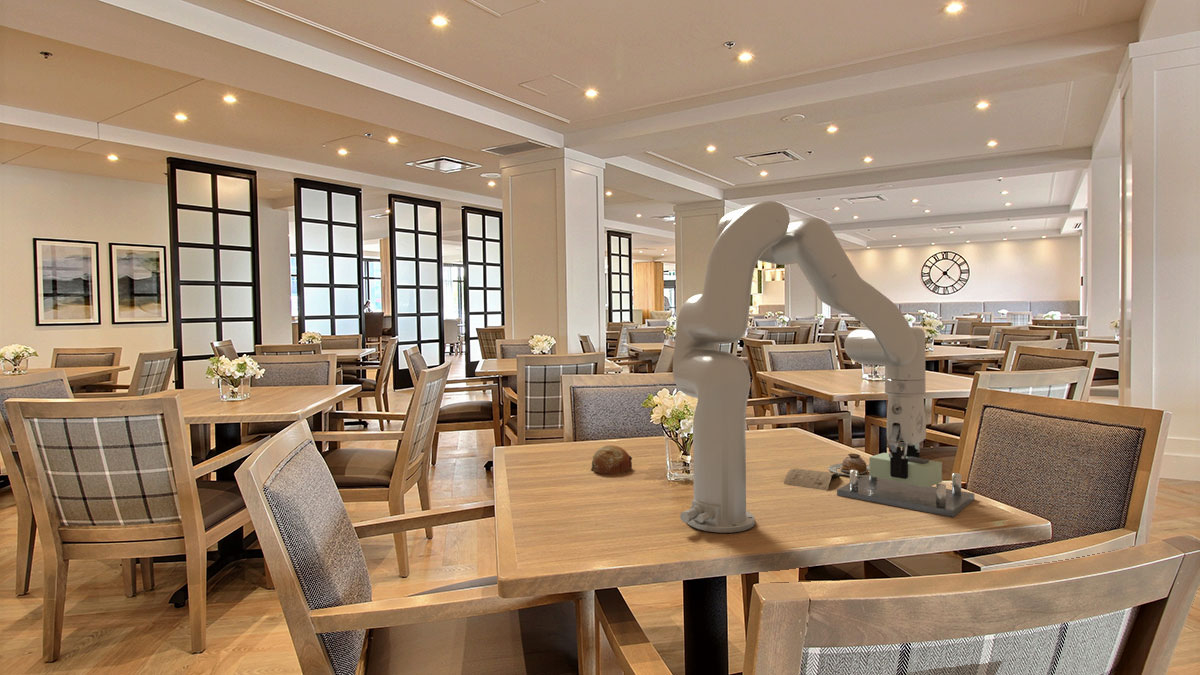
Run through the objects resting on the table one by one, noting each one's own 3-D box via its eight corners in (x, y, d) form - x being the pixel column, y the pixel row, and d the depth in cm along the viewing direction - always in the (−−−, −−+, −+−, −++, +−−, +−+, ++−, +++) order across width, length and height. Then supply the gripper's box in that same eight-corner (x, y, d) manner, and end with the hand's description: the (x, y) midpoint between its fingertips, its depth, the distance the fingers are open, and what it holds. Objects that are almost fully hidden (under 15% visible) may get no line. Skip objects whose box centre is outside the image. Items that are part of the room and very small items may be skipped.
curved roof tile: (828, 494, 135) (828, 481, 135) (780, 487, 140) (780, 475, 140) (841, 478, 147) (841, 467, 147) (797, 473, 152) (797, 462, 152)
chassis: (953, 517, 117) (953, 489, 117) (836, 495, 132) (836, 470, 132) (974, 499, 128) (974, 473, 127) (864, 480, 143) (864, 457, 143)
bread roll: (593, 480, 161) (580, 453, 159) (627, 460, 163) (614, 433, 162) (605, 490, 151) (591, 462, 150) (641, 469, 154) (628, 440, 153)
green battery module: (928, 487, 123) (928, 463, 123) (869, 475, 133) (869, 453, 132) (941, 481, 127) (941, 458, 127) (883, 470, 136) (883, 448, 136)
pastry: (853, 465, 159) (853, 447, 158) (893, 476, 148) (893, 457, 148) (817, 471, 154) (817, 452, 153) (856, 483, 143) (856, 462, 143)
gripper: (910, 393, 120) (910, 486, 121) (937, 384, 133) (937, 468, 133) (870, 390, 125) (870, 479, 126) (900, 382, 138) (900, 463, 138)
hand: (905, 473), depth 130 cm, fingers closed on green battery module, 6 cm apart
